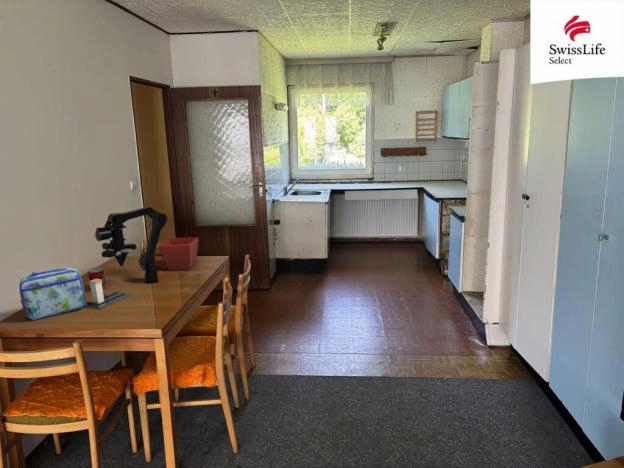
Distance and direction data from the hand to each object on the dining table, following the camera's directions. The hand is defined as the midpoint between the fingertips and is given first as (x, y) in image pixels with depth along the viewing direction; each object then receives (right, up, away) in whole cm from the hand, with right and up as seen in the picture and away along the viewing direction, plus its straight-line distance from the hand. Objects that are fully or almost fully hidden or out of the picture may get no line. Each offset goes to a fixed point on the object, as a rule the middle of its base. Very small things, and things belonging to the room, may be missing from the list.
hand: (121, 266), depth 248 cm
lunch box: (-20, -21, -27) cm, 39 cm away
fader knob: (-4, -16, -19) cm, 25 cm away
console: (-1, -16, -13) cm, 21 cm away
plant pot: (+21, -4, +39) cm, 44 cm away
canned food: (-15, -13, +6) cm, 21 cm away
